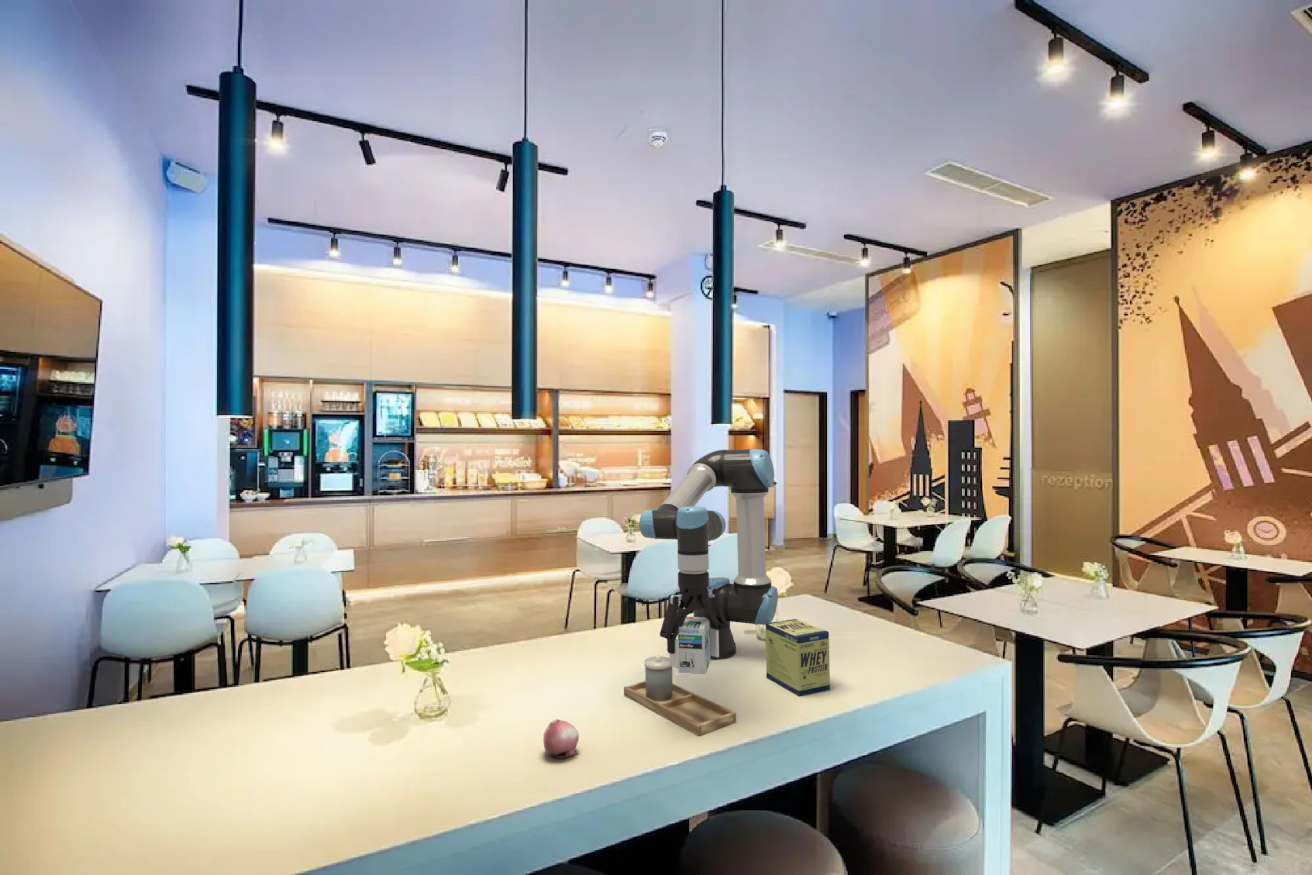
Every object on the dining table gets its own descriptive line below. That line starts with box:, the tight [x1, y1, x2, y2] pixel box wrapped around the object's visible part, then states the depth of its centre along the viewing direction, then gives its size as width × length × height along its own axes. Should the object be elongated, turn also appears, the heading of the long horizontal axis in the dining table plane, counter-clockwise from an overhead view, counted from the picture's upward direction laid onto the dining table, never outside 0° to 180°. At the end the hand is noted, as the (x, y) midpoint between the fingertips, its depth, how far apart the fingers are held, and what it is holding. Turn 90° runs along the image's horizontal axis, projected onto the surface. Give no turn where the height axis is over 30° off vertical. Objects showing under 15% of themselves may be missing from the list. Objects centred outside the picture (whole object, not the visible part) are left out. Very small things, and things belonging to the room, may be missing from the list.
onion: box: [542, 718, 580, 759], centre depth 133 cm, size 8×8×7 cm
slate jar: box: [643, 655, 673, 701], centre depth 161 cm, size 7×7×10 cm
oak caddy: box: [623, 680, 737, 737], centre depth 155 cm, size 12×30×2 cm, turn 37°
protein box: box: [765, 618, 831, 697], centre depth 170 cm, size 10×16×16 cm
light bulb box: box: [677, 615, 712, 675], centre depth 150 cm, size 11×7×11 cm, turn 168°
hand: (694, 661), depth 150 cm, fingers closed on light bulb box, 12 cm apart
